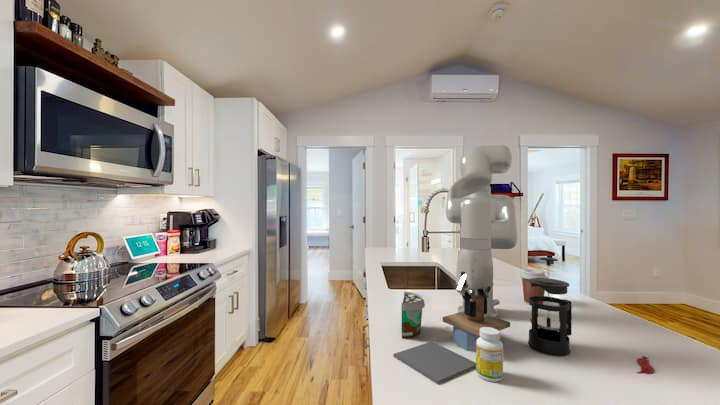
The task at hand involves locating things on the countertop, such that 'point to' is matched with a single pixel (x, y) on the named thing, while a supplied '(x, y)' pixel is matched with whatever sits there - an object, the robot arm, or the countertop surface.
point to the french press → (546, 329)
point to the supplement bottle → (489, 355)
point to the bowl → (464, 339)
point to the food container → (411, 314)
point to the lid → (476, 319)
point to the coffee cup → (527, 288)
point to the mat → (435, 361)
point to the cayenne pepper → (645, 365)
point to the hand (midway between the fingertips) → (475, 313)
